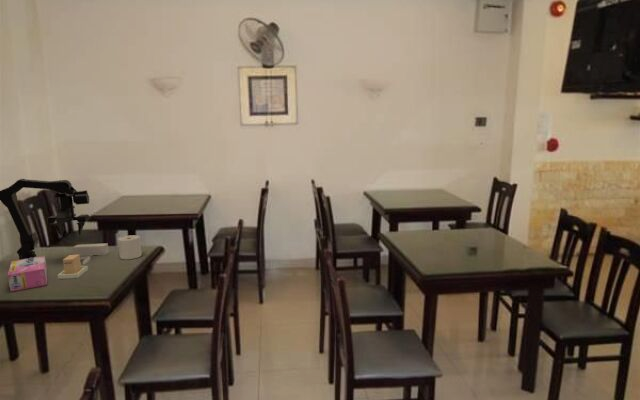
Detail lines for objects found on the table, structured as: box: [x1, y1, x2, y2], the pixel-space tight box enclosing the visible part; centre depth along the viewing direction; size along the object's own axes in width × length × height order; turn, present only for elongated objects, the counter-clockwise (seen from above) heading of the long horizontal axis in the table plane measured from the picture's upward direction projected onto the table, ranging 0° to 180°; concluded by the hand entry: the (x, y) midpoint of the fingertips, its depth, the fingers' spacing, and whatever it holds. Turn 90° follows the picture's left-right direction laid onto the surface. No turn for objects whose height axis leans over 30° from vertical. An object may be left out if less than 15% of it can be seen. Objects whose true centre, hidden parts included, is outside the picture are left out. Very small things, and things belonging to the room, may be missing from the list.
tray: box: [57, 265, 89, 280], centre depth 215 cm, size 9×11×2 cm
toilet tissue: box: [117, 234, 143, 260], centre depth 239 cm, size 11×12×10 cm
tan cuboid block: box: [62, 254, 82, 274], centre depth 214 cm, size 4×8×8 cm, turn 5°
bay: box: [72, 242, 110, 266], centre depth 238 cm, size 16×20×5 cm
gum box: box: [7, 255, 48, 292], centre depth 208 cm, size 24×8×14 cm
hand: (70, 235), depth 235 cm, fingers open, 9 cm apart
